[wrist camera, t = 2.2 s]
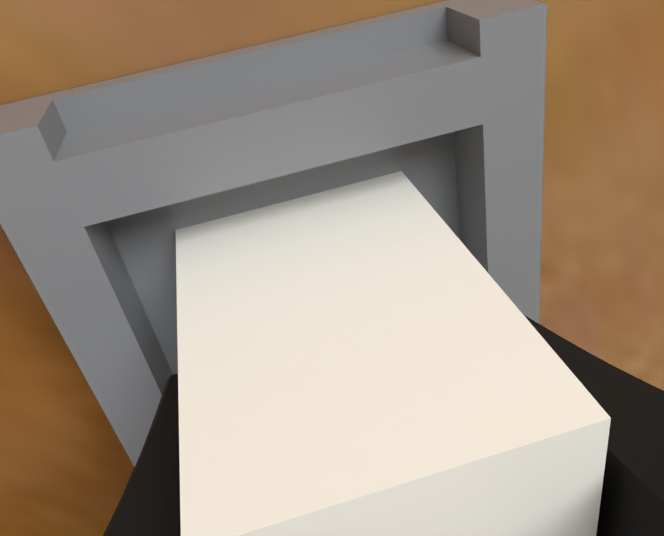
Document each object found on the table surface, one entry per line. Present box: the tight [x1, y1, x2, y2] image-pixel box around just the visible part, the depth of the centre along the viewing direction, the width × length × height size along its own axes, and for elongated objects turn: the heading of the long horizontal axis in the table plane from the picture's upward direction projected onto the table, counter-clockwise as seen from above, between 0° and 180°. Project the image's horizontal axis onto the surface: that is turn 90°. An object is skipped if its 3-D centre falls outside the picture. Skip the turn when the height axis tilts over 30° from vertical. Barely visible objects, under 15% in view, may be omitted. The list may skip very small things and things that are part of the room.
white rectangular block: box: [176, 171, 611, 536], centre depth 9 cm, size 4×5×6 cm
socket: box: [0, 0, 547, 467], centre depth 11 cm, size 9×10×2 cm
